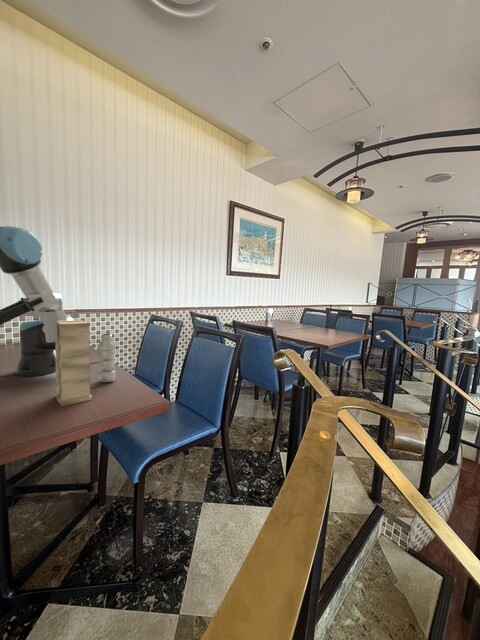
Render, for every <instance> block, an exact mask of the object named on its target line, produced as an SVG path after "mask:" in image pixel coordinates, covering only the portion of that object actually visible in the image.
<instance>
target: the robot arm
mask: <svg viewBox="0 0 480 640" xmlns="http://www.w3.org/2000/svg"><path fill="white" fill-rule="evenodd" d="M42 251H43V248H42V244H41V242H40V241H39V239H38V237H36V236H35V234H33V233H32V232H31V231H29V230H27V229H26V228H23V227H16V226H9V225H8V226H7V225H6V226H0V269H1V272H3V273H4V274H6V275H11V276H12V278H13V280H14V281H15V283H16V284H17V286H18V287H19V289H20V290H21V292H22V293H23V295H24V297H21V298H20V300H18V301H16V302H14V303H12V304H9V305H8V306H6V307H3V308H1V309H0V326H1V325H3V324H6V323H8V322H9V321H12V320H14V319H16V318H19V317H20V316H23V315H24V314H27V313H34V312H33V311H35V310H34V308H36V307H38V306H40V305H42V304H44V303H46V302H48V301H51V300H53V299H55V298H56V297H55V296H54V294H53V293H54V291H53V289H52V287H51V285H50V284H49V282H48V280H47V279H46V276H45V275H44V273H43V271H42V270H41V268H40V265H41V264H42V261H41V258H42V255H43V252H42ZM28 293H43V294H41V295H38V296H36V297H34V298H32V299H30V300H28V301H26V302H25V303H24V300H23V299H24V298H28ZM31 310H32V312H30V311H31ZM35 313H36V315H37V316H38V318H39V319H38V320H29V321H23V322H21V323H20V325H19V344H20V357H19V360H18V362H17V367H16V370H15V371H16V375H17V376H20V377H36V376H43V375H44V376H45V375H49V374H53V373H56V354H55V342H50V343H47V342H46V336H45V325H44V314H43V312H35ZM56 314H57V321H63V320H74V318H73V317H72V316H70V315H67V314H66V312H65V310H64V309H63V308H62V310H61V311H56Z"/></svg>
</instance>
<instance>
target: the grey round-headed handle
mask: <svg viewBox="0 0 480 640" xmlns="http://www.w3.org/2000/svg"><path fill="white" fill-rule="evenodd" d="M41 294H43V293H28V298H26V297H23V298H24V299H23V300H24V303H25V302H26V301H28V300H30V299H32V298H34V297H36V296H38V295H41ZM53 294H54V296H55V297H56V298H55V299H53V300H51V301H48V302H46V303H44V304H42V305H40V306H38V307H36V308H34V310H35V311H33V312H32V310H31V311H30V312H29V313H36V312H43V314H44V325H45V336H46V342H47V343H50V342H59V338H58V326H57V314H56V311H61V310H62V309H63V300H62V298H63V297H62V295H61V293H60V292H56V291H55V292H53Z"/></svg>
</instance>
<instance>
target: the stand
mask: <svg viewBox="0 0 480 640" xmlns="http://www.w3.org/2000/svg"><path fill="white" fill-rule="evenodd" d="M57 326H58V338H59V342H55V350H54V354H55V357H56V371H55V378H56V379H55V380H56V381H55V385H56V386H55V387H56V392H54V397H55V398H56V401H57V402H58V403H59V405H60V407H65V406H66V407H67V406H69V405H75V404H79V403H84V402H88V401H92V400H93V395H92V394H91V372H90V370H91V369H90V367H91V365H90V363H91V362H90V354H91V353H90V322H88V321H84V320H82V319H73V320H63V321H57Z"/></svg>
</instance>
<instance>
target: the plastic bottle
mask: <svg viewBox="0 0 480 640" xmlns="http://www.w3.org/2000/svg"><path fill="white" fill-rule="evenodd" d="M112 339H113V334H111V333H102V334H101V341H100V343H98V345H97V351H98V356H99V357H98V359H99V370H98V375H97V376H98V381H99V382H101V383H111V382H114V381H115V380H116V377H117V374H116V370H115V354H116V345H115V343H114V341H113V340H112Z"/></svg>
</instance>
